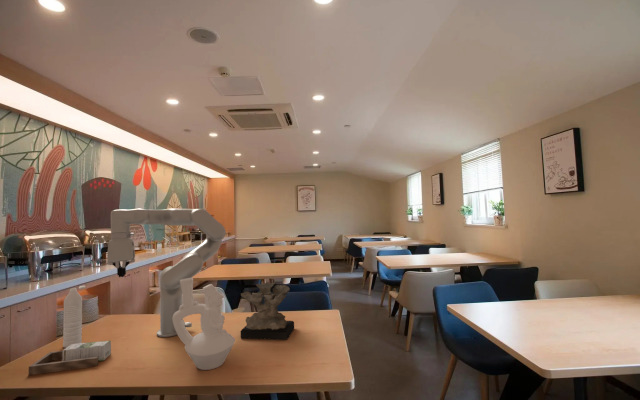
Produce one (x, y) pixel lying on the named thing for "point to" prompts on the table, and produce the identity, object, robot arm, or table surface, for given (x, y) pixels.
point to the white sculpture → (203, 327)
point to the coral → (267, 314)
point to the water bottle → (72, 318)
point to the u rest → (59, 363)
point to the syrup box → (87, 351)
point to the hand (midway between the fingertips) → (121, 276)
